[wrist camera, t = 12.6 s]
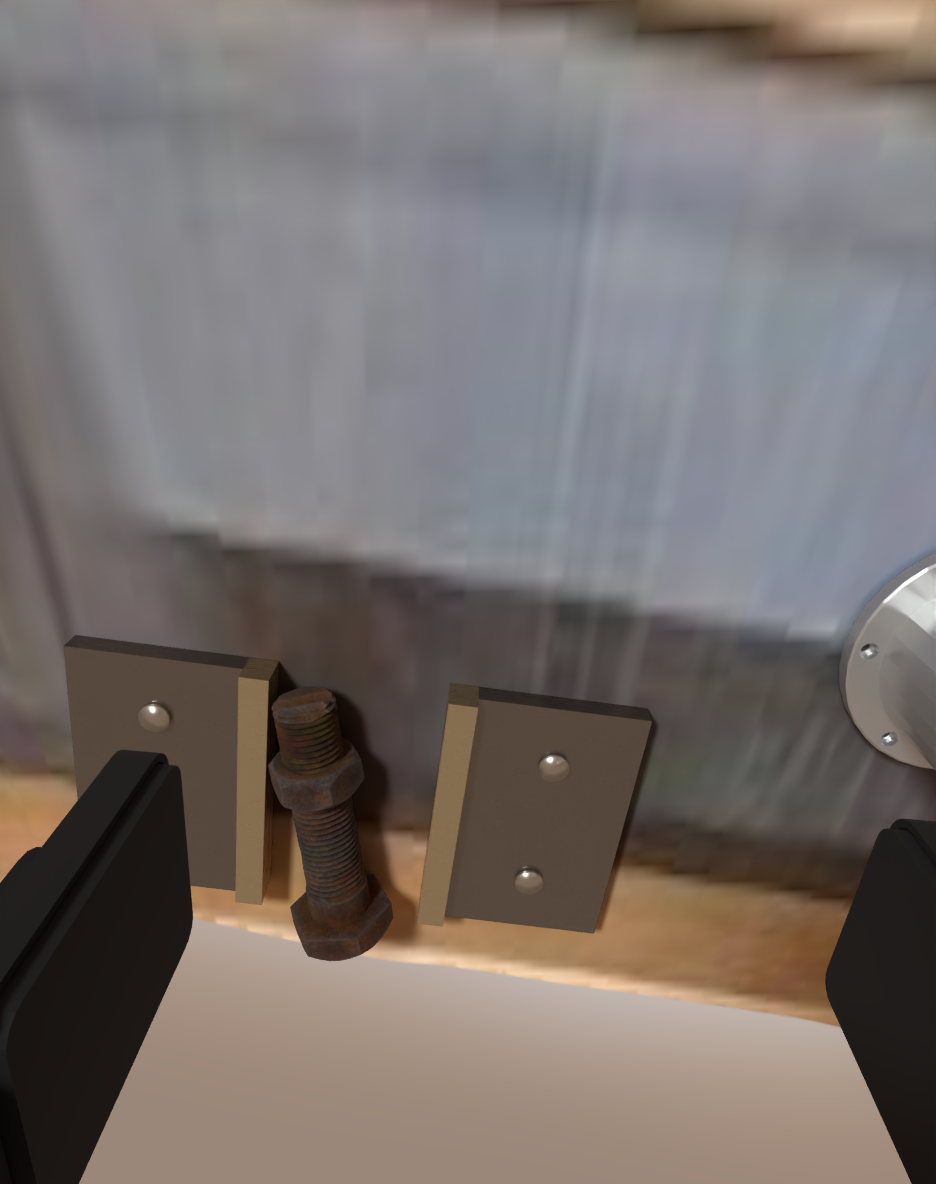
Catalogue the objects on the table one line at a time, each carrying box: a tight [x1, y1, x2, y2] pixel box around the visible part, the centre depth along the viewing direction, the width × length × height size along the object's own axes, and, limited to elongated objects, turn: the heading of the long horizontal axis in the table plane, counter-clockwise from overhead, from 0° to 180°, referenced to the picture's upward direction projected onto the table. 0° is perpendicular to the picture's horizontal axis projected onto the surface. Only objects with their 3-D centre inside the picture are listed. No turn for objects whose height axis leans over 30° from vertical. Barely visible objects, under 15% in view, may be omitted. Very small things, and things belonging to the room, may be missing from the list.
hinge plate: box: [64, 635, 652, 933], centre depth 42 cm, size 30×15×2 cm, turn 82°
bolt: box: [268, 687, 393, 961], centre depth 41 cm, size 6×5×15 cm
